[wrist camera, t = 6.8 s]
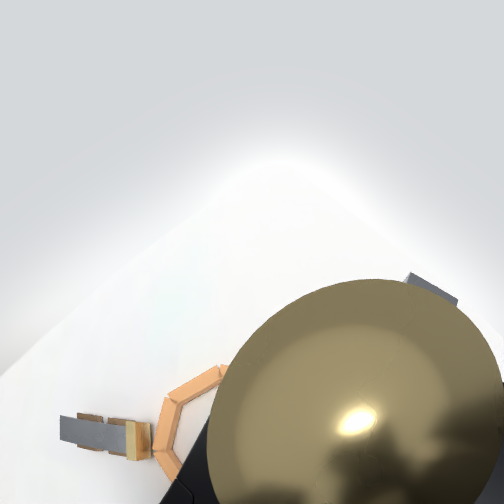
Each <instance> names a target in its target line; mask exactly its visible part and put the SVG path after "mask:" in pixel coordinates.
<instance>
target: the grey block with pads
mask: <svg viewBox="0 0 504 504" xmlns="http://www.w3.org/2000/svg"><path fill="white" fill-rule="evenodd" d="M60 440H63V441H67V442H71V443H75V444H77V447H79V448H84V449H88V450H93V451H103V450H108V451H109V454H114V455H120V456H126V457H127V460H133V461H139V460H144V459H149V458H151V438H150V423H142V422H135V421H133V420H124V419H116V418H108V424H107V423H102V417H101V416H94V415H88V414H82V413H77V418H72V417H67V416H61V415H60Z"/></svg>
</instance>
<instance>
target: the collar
mask: <svg viewBox="0 0 504 504" xmlns="http://www.w3.org/2000/svg"><path fill="white" fill-rule="evenodd" d="M228 367H229V366H226V365H221V366H220V369H219V368H218V367H217V365H216V366H214V367H212V368H211V369H209V370H207V371H206V372H204V373H202V374H201V375H199V376H197V377H196V378H194V379H192V380H191V381H189V382H187V383H185V384H184V385H182V386H180V387H178V388H177V389H175V390H173V391H171V392H169V393H168V396H169V397H170V398H166V397H165V398H164V402H163V406H162V410H161V414H160V418H159V422H158V426H157V430H156V434H155V438H154V442H153V446H152V449H153V450H156V452H154V453H153V455H154V456H155V458H156V460H157V461H158V463H159V464H160V466H161V467H162V469H163V470H164V472H165V474H166V475H167V477H168V478H169V480H170V481H171V482H172V483H173V481H174V479H177V478H176V476H177V474H178V472H179V470H180V469H181V467H182V464H181V463H180V461H179V460H178V458H177V457H176V455H175V454H174V452H173V451H172V446H173V442H174V438H175V434H176V429H177V425H178V421H179V417H180V413H181V409H182V405H184V404H186V403H188V402H189V401H191V400H193V399H195V398H196V397H198V396H200V395H201V394H203V393H205V392H207V391H208V390H210V389H212V388H213V387H215V386H217V385H218V384H220V383H221V381H222V379H223V377H224V375H225V373H226V371H227V369H228Z"/></svg>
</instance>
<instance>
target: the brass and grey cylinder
mask: <svg viewBox="0 0 504 504" xmlns="http://www.w3.org/2000/svg"><path fill="white" fill-rule="evenodd" d="M457 302H458V299H456V298H455V297H453V296H451V295H450V294H448V293H446V292H444V291H443V290H441V289H439V288H438V287H436V286H434V285H432V284H431V283H429V282H427V281H426V280H424V279H422V278H420V277H419V276H417V275H415V274H413V273H411V272H410V273H409V275H408V276H407V277H406V279H405V280H404V281H403V282H399V281H394V280H383V279H365V280H354V281H348V282H342V283H338V284H335V285H331V286H328V287H324V288H321V289H319V290H316V291H314V292H312V293H309V294H307V295H304V296H303V297H301V298H299V299H297V300H296V301H294V302H292V303H290V304H289V305H287V306H285V307H284V308H283V309H281V310H280V311H279V312H277V313H276V314H275V315H273V316H272V317H270V318H269V319H268V320H267V321H266V322H265V323H264V324H263V325H262V326H261V327H260V328H258V329H257V330H256V331H255V332H254V333H253V334H252V336H251V337H250V338H249V339H248V340H247V342H246V343H245V344H244V345H243V346H242V348H241V349H240V350H239V352H238V353H237V355H236V356H235V358H234V359H233V361H232V362H231V364H230V365H229V367H228V369H227V371H226V373H225V375H224V377H223V379H222V381H221V383H220V385H219V387H218V390H217V393H216V396H215V399H214V402H213V405H212V408H211V413H210V419H209V424H208V430H207V459H208V467H209V474H210V478H211V481H212V485H213V488H214V491H215V494H216V496H217V499H218V501H219V503H220V504H474V503H475V501H476V500H477V499H478V497H479V496H480V494H481V493H482V491H483V489H484V487H485V486H486V484H487V482H488V480H489V478H490V476H491V474H492V471H493V469H494V466H495V464H496V461H497V459H498V455H499V452H500V448H501V444H502V440H503V433H504V388H503V383H502V378H501V374H500V371H499V368H498V365H497V362H496V359H495V357H494V355H493V353H492V351H491V349H490V347H489V345H488V343H487V341H486V340H485V338H484V337H483V335H482V334H481V332H480V331H479V329H478V328H477V327H476V326H475V325H474V323H473V322H472V321H471V320H470V319H469V318H468V317H467V316H466V315H465V314H464V313H463V312H462V311H460V310H459V309H458V308H457V307H456V306H457Z"/></svg>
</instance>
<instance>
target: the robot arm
mask: <svg viewBox="0 0 504 504" xmlns="http://www.w3.org/2000/svg"><path fill="white" fill-rule="evenodd" d="M502 383H503V388H504V382H502ZM209 419H210V415H209V417H208V419H207V421H206V423H205V425H204V427H203V429H202V430H201V432H200V434H199V436H198V438H197V440H196V442H195V443H194V445H193V447H192V449H191V451H190V452H189V454H188V456H187V458H186V460H185V462H184V463H183V465H182V467H181V469H180V470H179V472H178V474H177V476H176V478H177V479H174V481H173V483H172V484H171V486H170V488H169V489H168V491H167V493H166V494H165V496H164V497H163V499H162V501H161V502H160V503H159V504H220V503H219V501H218V499H217V496H216V494H215V491H214V488H213V485H212V481H211V478H210V474H209V467H208V459H207V430H208V424H209ZM474 504H504V433H503V440H502V444H501V448H500V452H499V455H498V459H497V461H496V464H495V466H494V469H493V471H492V474H491V476H490V478H489V480H488V482H487V484H486V486H485V487H484V489H483V491H482V493H481V494H480V496H479V497H478V499H477V500H476V501H475V503H474Z"/></svg>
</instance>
